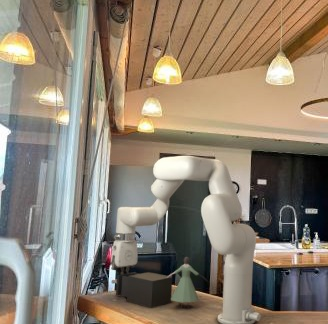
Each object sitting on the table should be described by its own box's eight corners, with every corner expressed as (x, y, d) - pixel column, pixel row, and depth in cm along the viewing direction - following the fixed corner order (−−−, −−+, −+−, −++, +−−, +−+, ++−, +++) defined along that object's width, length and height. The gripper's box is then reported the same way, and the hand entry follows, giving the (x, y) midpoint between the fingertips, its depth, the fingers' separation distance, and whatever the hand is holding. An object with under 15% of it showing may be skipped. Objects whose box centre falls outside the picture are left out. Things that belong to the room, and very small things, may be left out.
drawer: (107, 293, 152) (109, 273, 152) (125, 289, 159) (126, 270, 160) (136, 300, 142) (138, 279, 143) (154, 296, 149) (155, 276, 150)
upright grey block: (126, 301, 144) (128, 275, 145) (146, 296, 153) (148, 272, 153) (151, 307, 137) (152, 281, 138) (171, 302, 145) (172, 276, 146)
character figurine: (209, 304, 144) (211, 255, 146) (207, 310, 136) (209, 259, 137) (167, 303, 144) (170, 254, 145) (162, 309, 135) (165, 257, 137)
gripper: (115, 239, 147) (112, 288, 146) (145, 237, 160) (143, 281, 158) (103, 237, 152) (100, 285, 150) (133, 235, 164) (131, 279, 162)
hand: (122, 283), depth 154 cm, fingers closed
